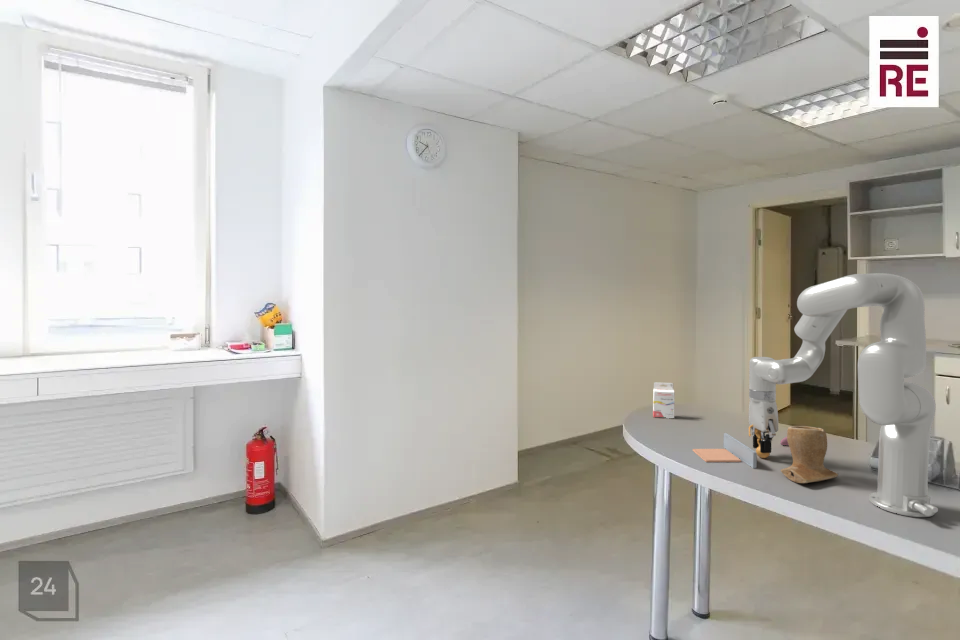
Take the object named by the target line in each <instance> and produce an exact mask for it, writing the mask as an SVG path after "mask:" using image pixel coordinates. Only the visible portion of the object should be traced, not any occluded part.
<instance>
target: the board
mask: <svg viewBox="0 0 960 640" xmlns="http://www.w3.org/2000/svg"><path fill="white" fill-rule="evenodd" d="M692 452H694V453H695V454H696V455H697V456H698V457H699V458H701V459H702V460H703V461H704V462H706V463H742V460H741V459H739V458H738V457H737V456H735V455H734V454H732V453H731V452H730V451H728V450H727V449H725V448H692Z"/></svg>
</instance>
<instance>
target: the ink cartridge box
mask: <svg viewBox="0 0 960 640" xmlns="http://www.w3.org/2000/svg"><path fill="white" fill-rule="evenodd" d="M663 385H664V386H663ZM652 391H653V392H652V393H653V395H652V396H653V397H652V417H653V418H655V417H666V418H665V419H669V418H674V419H675V399H676V397H675V395H676V394H675V393H676V392H675V389H674V383H673V382H656V381H655V382H653V389H652Z"/></svg>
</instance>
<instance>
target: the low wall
mask: <svg viewBox="0 0 960 640" xmlns="http://www.w3.org/2000/svg"><path fill="white" fill-rule="evenodd" d="M725 448H726V450H728V451H729V452H730V453H733V455H735V456H736V457H737V458H740V460H741V462H744V463H745V464H747V466H749V467H750V466H751V468H752V469H757V457H758V455H757V452H756V450H754V449H752V448H750V447H749V446H747V445H746V444H744V443H743V442H741V441H739V440H738V439H737V438H735V437H733V436H732V435H730V434H729V433H727V432H724V433H723V449H725Z"/></svg>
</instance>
